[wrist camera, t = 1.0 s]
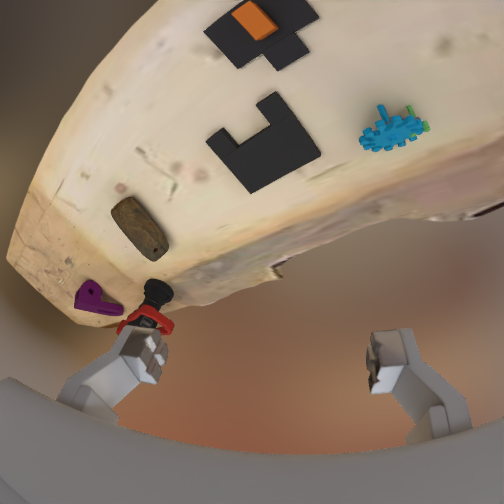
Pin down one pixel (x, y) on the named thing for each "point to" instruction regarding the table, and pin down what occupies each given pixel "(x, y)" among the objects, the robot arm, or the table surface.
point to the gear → (393, 131)
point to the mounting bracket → (95, 300)
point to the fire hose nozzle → (151, 308)
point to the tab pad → (272, 44)
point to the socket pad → (267, 147)
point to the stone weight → (140, 229)
